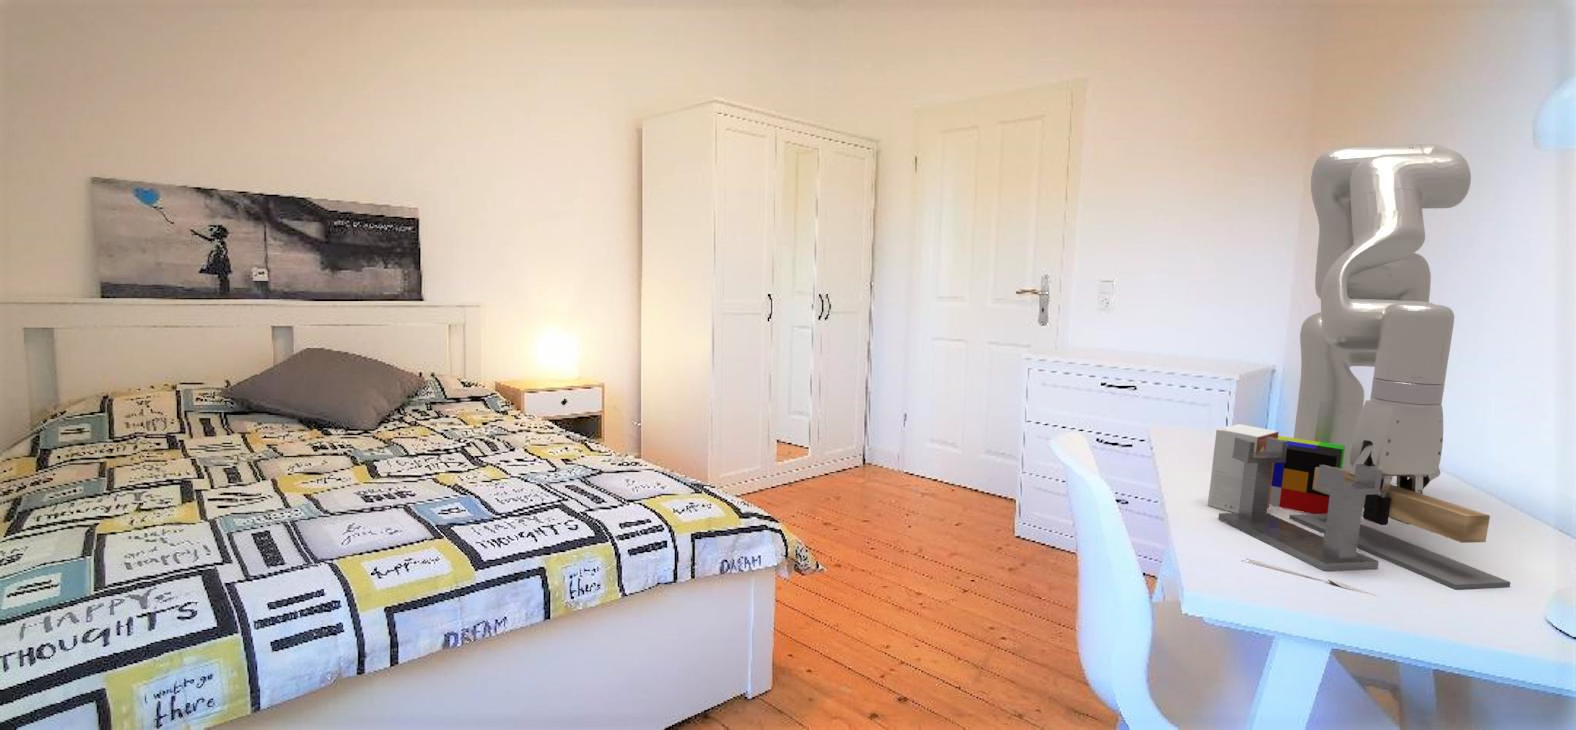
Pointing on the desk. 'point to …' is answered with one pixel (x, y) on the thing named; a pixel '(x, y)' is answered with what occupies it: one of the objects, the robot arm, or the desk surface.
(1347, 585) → the silver long thin piece
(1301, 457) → the puzzle toy
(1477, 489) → the desk surface
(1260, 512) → the rack
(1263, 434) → the small box
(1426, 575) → the mat
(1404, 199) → the robot arm
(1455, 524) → the rail
